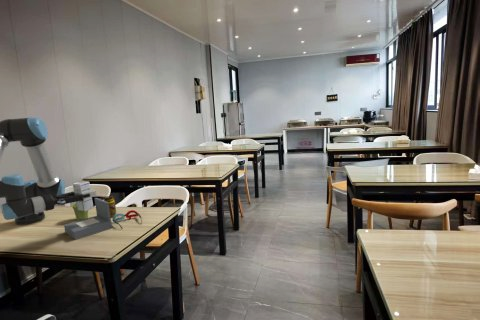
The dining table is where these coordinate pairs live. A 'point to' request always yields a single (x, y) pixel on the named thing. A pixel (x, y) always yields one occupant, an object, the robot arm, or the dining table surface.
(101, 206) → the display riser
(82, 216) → the plant pot
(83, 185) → the syrup box
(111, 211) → the condiment
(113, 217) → the novelty glasses
